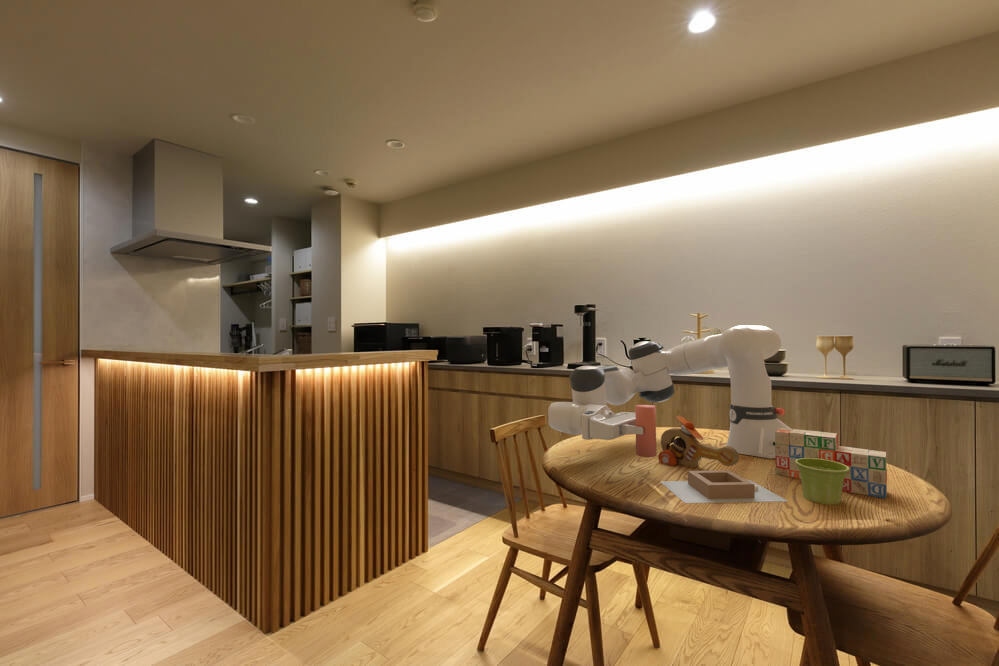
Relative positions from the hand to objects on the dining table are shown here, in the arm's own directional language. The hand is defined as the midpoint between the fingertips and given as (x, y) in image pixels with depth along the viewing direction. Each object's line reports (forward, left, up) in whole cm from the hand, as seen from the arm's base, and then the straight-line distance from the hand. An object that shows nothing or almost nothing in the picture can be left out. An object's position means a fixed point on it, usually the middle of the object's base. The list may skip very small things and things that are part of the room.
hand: (649, 428), depth 112 cm
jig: (-12, +10, -13) cm, 21 cm away
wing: (-19, +6, -12) cm, 24 cm away
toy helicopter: (-15, -9, -14) cm, 22 cm away
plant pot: (-31, +16, -14) cm, 38 cm away
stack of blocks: (-42, +4, -14) cm, 45 cm away
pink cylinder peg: (+1, -1, -7) cm, 7 cm away
